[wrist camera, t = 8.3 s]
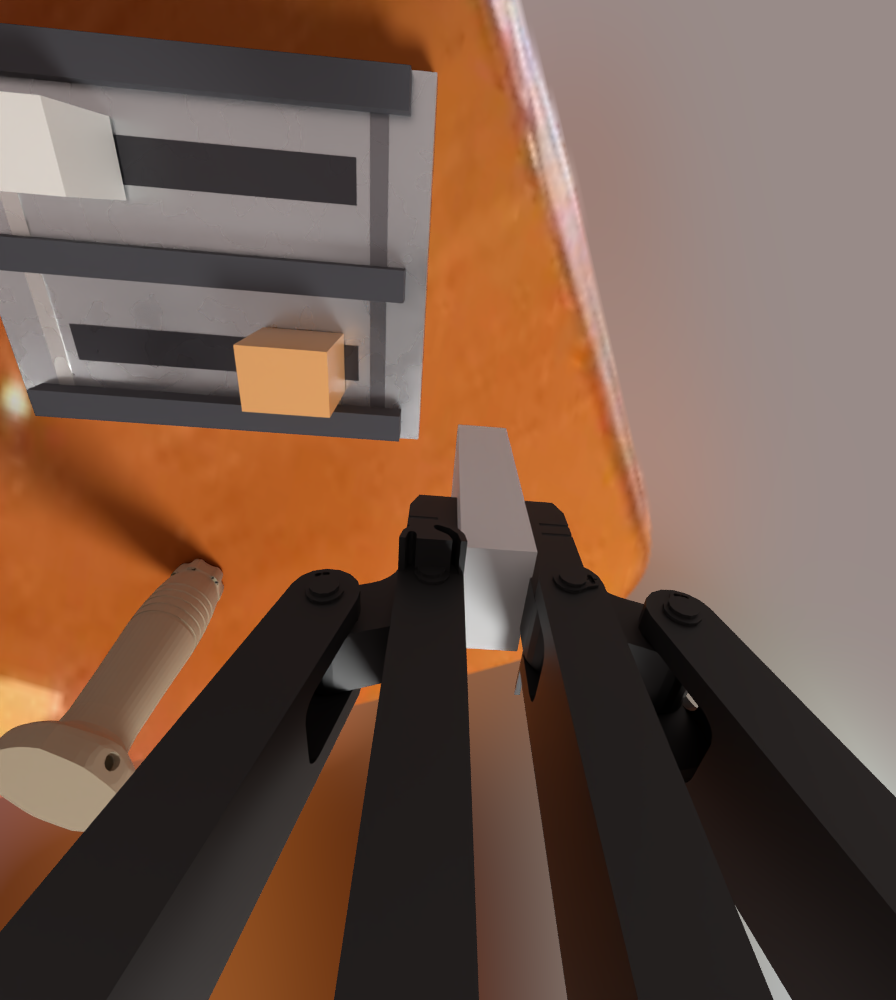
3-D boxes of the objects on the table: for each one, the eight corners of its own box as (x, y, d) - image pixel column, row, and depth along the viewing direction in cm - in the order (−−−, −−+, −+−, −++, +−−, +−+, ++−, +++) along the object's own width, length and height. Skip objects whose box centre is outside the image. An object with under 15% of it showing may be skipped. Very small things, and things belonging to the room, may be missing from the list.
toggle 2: (269, 385, 26) (242, 411, 23) (263, 327, 25) (233, 344, 21) (345, 391, 26) (329, 417, 23) (343, 333, 25) (326, 352, 21)
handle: (205, 528, 33) (44, 736, 20) (258, 598, 36) (150, 818, 22) (145, 551, 33) (-47, 763, 20) (202, 617, 36) (66, 839, 23)
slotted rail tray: (51, 408, 27) (35, 415, 26) (-77, 23, 19) (-107, 12, 18) (400, 433, 28) (398, 441, 27) (412, 73, 20) (410, 65, 19)
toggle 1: (33, 192, 22) (-45, 187, 18) (9, 106, 20) (-81, 83, 17) (126, 200, 22) (66, 197, 18) (108, 116, 20) (40, 95, 17)
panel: (53, 403, 28) (33, 412, 27) (-70, 30, 20) (-106, 16, 19) (419, 429, 29) (418, 439, 28) (437, 81, 21) (437, 72, 20)
